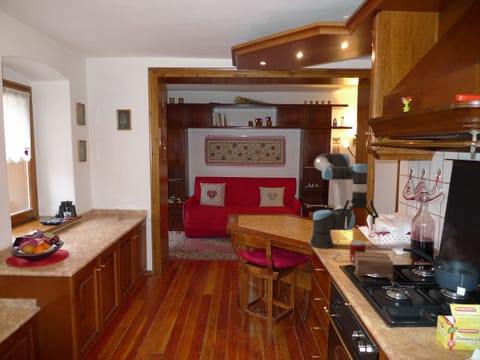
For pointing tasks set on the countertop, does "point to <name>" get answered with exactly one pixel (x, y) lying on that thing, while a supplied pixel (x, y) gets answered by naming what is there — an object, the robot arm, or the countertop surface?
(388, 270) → the walnut stand
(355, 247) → the canned food
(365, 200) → the robot arm
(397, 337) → the countertop surface
